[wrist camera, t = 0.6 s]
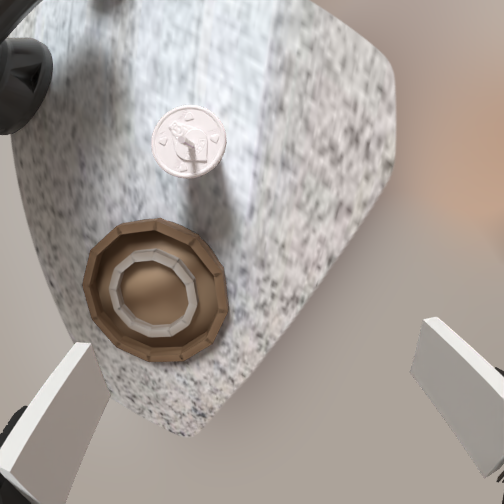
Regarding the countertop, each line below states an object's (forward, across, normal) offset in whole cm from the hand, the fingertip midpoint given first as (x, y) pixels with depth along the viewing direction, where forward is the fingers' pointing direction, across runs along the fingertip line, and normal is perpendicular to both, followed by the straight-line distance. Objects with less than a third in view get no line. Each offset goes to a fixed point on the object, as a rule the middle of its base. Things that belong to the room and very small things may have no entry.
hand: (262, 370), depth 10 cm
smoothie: (+26, -4, +10) cm, 28 cm away
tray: (+26, -12, -7) cm, 29 cm away
